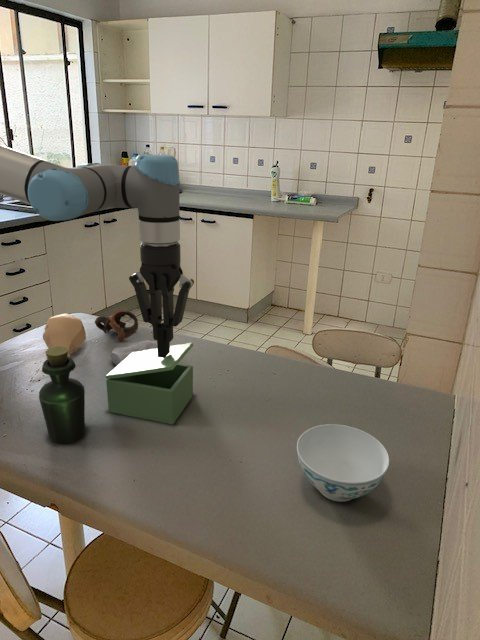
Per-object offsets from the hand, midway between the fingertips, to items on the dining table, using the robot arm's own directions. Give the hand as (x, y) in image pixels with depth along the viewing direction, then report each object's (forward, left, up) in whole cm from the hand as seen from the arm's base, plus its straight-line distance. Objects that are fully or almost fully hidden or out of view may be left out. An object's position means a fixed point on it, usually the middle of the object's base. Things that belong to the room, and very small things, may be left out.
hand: (163, 354), depth 96 cm
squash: (-35, +15, -13) cm, 40 cm away
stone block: (-14, +16, -13) cm, 25 cm away
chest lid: (-3, 0, -2) cm, 4 cm away
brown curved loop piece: (-28, +30, -13) cm, 43 cm away
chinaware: (+38, -14, -13) cm, 42 cm away
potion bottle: (-14, -15, -13) cm, 24 cm away
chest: (-3, 0, -13) cm, 13 cm away
